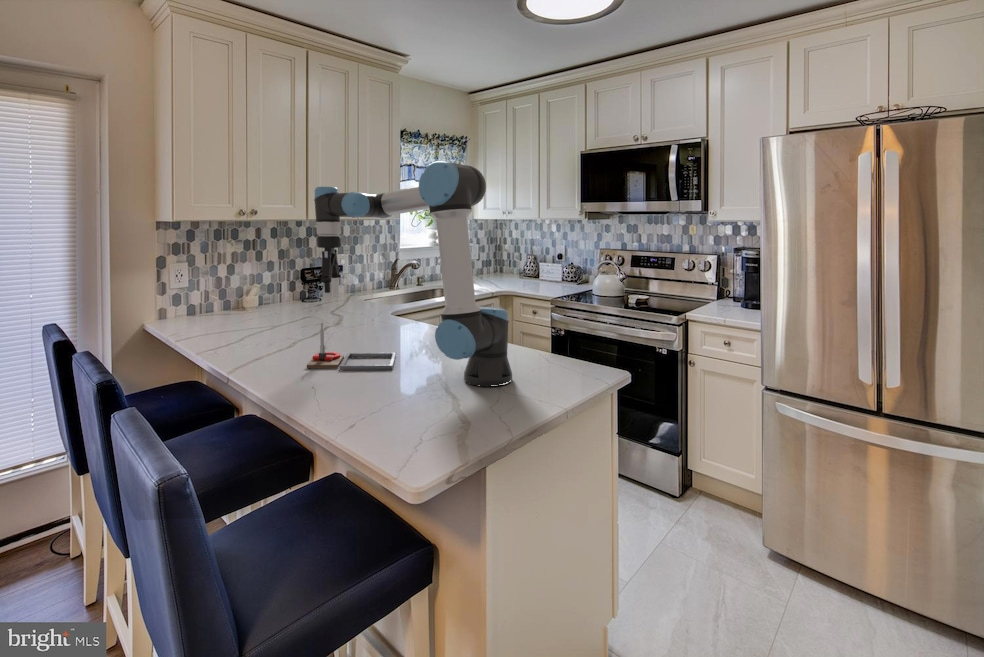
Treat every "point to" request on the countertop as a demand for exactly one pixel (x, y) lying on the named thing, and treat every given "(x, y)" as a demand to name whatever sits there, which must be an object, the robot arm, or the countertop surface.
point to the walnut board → (325, 363)
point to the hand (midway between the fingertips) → (332, 299)
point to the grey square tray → (368, 367)
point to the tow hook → (322, 353)
